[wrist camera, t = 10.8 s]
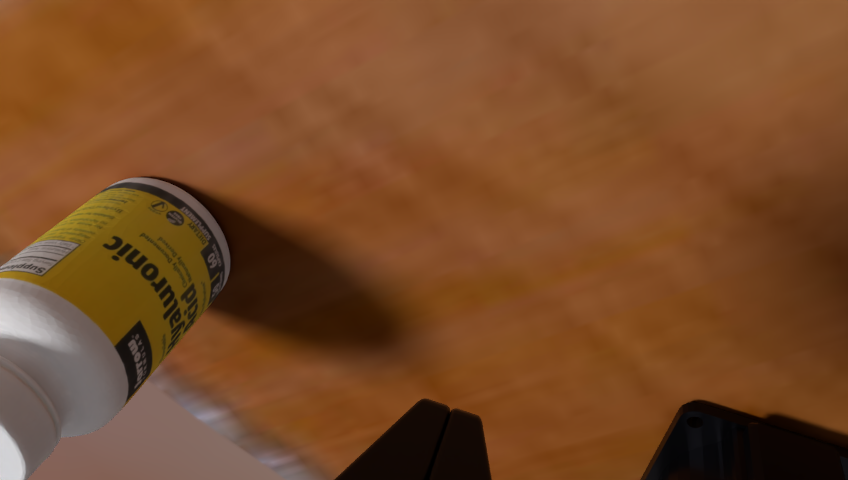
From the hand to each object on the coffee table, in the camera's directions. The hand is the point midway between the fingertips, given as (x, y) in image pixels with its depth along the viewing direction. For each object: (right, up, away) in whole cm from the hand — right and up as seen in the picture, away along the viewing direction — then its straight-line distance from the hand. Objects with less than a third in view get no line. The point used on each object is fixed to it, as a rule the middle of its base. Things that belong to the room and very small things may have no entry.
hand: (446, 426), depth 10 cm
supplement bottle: (-10, +3, +17) cm, 19 cm away
